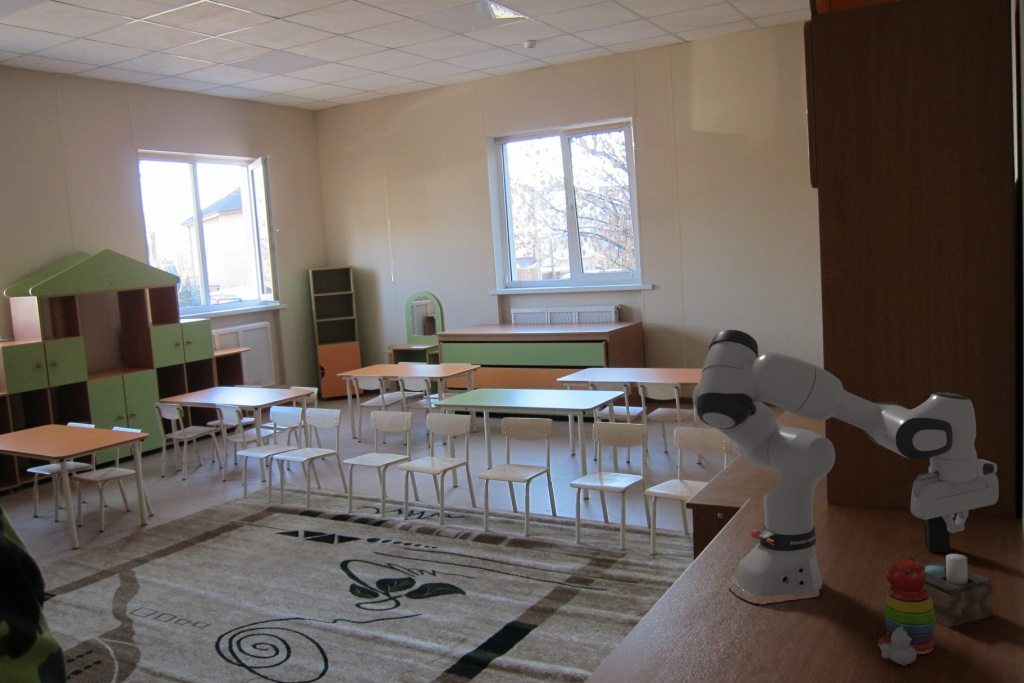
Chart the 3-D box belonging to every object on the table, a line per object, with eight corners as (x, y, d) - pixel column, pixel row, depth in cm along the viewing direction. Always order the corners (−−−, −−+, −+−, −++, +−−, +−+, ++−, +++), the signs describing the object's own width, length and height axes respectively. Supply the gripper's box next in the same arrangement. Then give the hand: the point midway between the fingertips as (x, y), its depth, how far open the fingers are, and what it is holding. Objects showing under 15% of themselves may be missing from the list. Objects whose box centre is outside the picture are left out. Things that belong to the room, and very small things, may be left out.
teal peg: (935, 608, 188) (934, 573, 187) (921, 601, 192) (920, 567, 191) (950, 604, 189) (949, 569, 188) (936, 597, 193) (935, 563, 192)
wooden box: (948, 627, 180) (947, 591, 179) (902, 604, 192) (901, 570, 191) (993, 615, 183) (992, 579, 182) (945, 593, 195) (944, 559, 194)
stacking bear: (890, 628, 181) (887, 547, 179) (942, 639, 175) (939, 555, 173) (874, 649, 173) (871, 565, 171) (928, 662, 167) (925, 574, 165)
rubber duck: (920, 670, 164) (919, 630, 163) (884, 670, 165) (882, 630, 164) (912, 656, 169) (911, 618, 168) (877, 656, 171) (875, 618, 170)
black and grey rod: (951, 552, 218) (948, 457, 215) (929, 553, 219) (926, 457, 216) (945, 545, 223) (942, 451, 220) (924, 545, 224) (921, 452, 221)
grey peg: (957, 598, 181) (956, 562, 181) (942, 591, 185) (941, 556, 184) (972, 594, 183) (971, 558, 182) (957, 587, 186) (956, 552, 185)
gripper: (924, 479, 175) (927, 545, 176) (1003, 463, 180) (1005, 526, 182) (902, 472, 181) (904, 535, 182) (979, 457, 186) (981, 518, 188)
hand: (955, 531), depth 182 cm, fingers closed
